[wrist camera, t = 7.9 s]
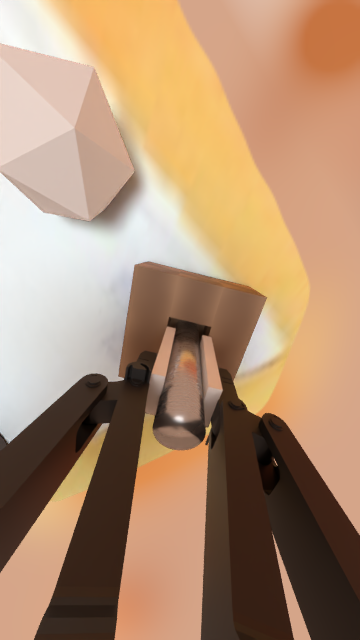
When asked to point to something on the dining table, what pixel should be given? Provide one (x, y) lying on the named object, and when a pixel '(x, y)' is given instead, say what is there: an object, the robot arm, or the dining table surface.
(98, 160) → the die
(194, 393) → the pin
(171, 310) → the socket block
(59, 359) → the dining table surface
